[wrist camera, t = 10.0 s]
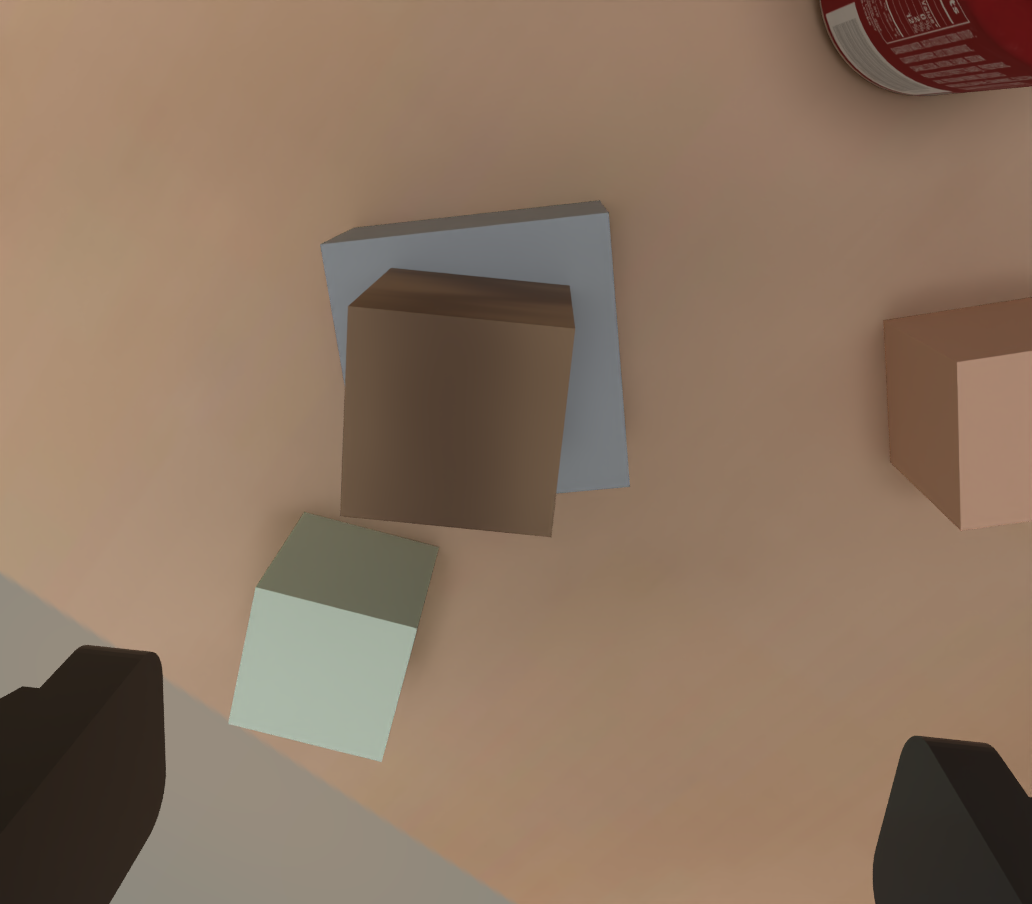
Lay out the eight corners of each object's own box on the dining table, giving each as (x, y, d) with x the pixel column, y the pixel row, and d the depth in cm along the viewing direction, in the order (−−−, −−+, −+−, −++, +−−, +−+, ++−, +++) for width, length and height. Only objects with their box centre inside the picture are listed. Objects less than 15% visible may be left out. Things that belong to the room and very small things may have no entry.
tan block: (1039, 295, 31) (1149, 332, 25) (1038, 439, 32) (1143, 505, 27) (882, 320, 31) (957, 361, 26) (889, 461, 33) (961, 530, 27)
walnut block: (569, 285, 26) (575, 329, 21) (550, 454, 28) (551, 537, 22) (391, 267, 26) (347, 306, 21) (382, 437, 28) (340, 515, 22)
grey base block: (599, 199, 31) (608, 212, 26) (618, 435, 33) (629, 486, 28) (355, 227, 31) (320, 244, 26) (392, 457, 34) (366, 510, 29)
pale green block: (439, 546, 34) (417, 628, 29) (408, 662, 36) (381, 761, 30) (305, 511, 34) (255, 587, 28) (279, 630, 36) (228, 723, 30)
